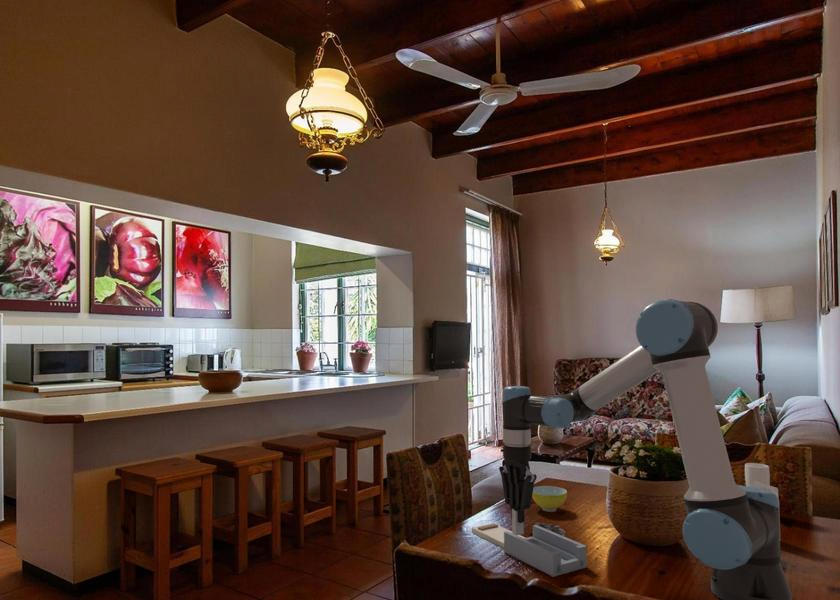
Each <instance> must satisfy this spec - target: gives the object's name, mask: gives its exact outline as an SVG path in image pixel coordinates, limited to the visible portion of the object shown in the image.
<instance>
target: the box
mask: <svg viewBox="0 0 840 600" xmlns="http://www.w3.org/2000/svg"><path fill="white" fill-rule="evenodd" d="M564 536H565V535H564ZM564 536H561V535H559V534H557V533H554V532H552V531H549V530H547V529H545V528H542V527H540V526H537V525H535V524H534V525H532V536H529V537H525V538H521V537H519V536H517V535H515V534H513V533H510V532H508V531H506V532H504V548H503V549H504V550H503V552H504V553H506V554H508V555H510V556H512V557H513V558H516V559H518V560H520V561H522V562H524V563H525V564H527V565H530V567H531V566H532V567H533V568H534V569H536V570H539V571H541V572H543V573H545V574H546V575H549V576H550V577H552V578H553V577H557V576H561V575H564V574H569V573H571V572H575V571H578V570H583V569H585V568H587V567H588V558H587V557H588V555H587V554H588V553H587V552H588V551H587V545H585V544H583V543H581V542H579V541H576V540H573V539H571V538H568V537H566V536H565V537H564Z"/></svg>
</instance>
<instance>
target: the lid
mask: <svg viewBox="0 0 840 600" xmlns="http://www.w3.org/2000/svg"><path fill="white" fill-rule="evenodd" d="M506 531H508V532H510V533H512V530H509V529H508V528H505V527H503V526H500V525H498V524H496V523H493V522H492V523H488V524H483V525H482V524H481V525H479V526H475V527H471V533H472V534H474V535H476V536H478V537H480V538H483V539H484V540H486V541H488V542H490V543H492V544H494V545H497V546H498V547H500V548H502V549H504V532H506ZM517 536H519V537H521V538H526V537H525V536H522V534H521V535H517Z"/></svg>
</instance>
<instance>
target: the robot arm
mask: <svg viewBox="0 0 840 600" xmlns="http://www.w3.org/2000/svg"><path fill="white" fill-rule="evenodd" d="M718 329H719V325H718V320H717V318H716V316H715V314H714V313H713V312H712V311H711V310H710V309H709V308H708V306H707V307H706V306H705V305H703V304H702V303H699V302H696V301H695V302H694V301H685V300H683V301H682V300H677V299H671V298H670V299H665V300H664V299H663V300H657V301H654V302H652V303H650V304H649V305H647V306H646V307H645V308H644V309H643V310H642V311H641V313H640V315H638V318H637V320H636V323H635V336H636V338H637V339H636V340H637V341H638V343H639V346H637V347H636V348H635V349H633V350H631V351H630V352H629V353H627V354H626V355H624V356H623V357H621V358H620V359H618V360H617V361H616V362H614V363H613V364H611V365H610V366H609V365H608V367H607V368H605V369H603V370H602V371H600V372H599V373H598V374H596V375H595V376H593V377H591V378H590V379H588V381H586V382H584V383H583V384H582V385H580V386H579V387H577V388H576V389H574V390H573V391H571V392H569V393H566V394H565V393H564V394H560V395H559V394H557V395H551V396H549V395H548V396H545V395H544V396H543V395H533V394H532V393H531V387H528V386H525V385H524V386H523V385H509V386H505V387H503V390H502V401H501V407H502V443H503V445H502V457H503V459H504V460H505V461H504V465H502V466H499V467H498V470H499V474H500V476H501V483H502V487H503V488H502V489H503V495H504V502H505V504H506V505H508V506H509V508H510V518H511V531H512V533H513V534H515V535H521V536H522V535H524V534H525V533H524V531H525V529H524V524H525V519H526V518H525V511H526V510H529V509H531V506H532V501H533V500H532V499H533V497H532V494H533V488H534V487H535V482H536V480H537V474H533V473H532V472H531V467H530V463H529V462H530V460H531V459H532V446H531V445H530V444H531V443H532V431H531V430H532V429H531V428H532V425H535V426H542V427H549V428H552V429H556V428H557V429H559V428H560V429H565V428H568V427H569V426H570V424H571V423H576V422H584V421H586V420H588V419H591V418H592V417H594V416H595V413H596V411H599V409H601V408H603V407H604V406H606V405H607V404H610V403H611V402H612V401H614V400H616V399H617V398H619V397H621V396H622V395H624V394H625V393H627V392H629V391H630V390H632V389H633V388H635V387H637V386H638V385H639V384H641V383H643V382H644V381H647V379H649V378H652V377H653V376H654V375H656V374H658V373H659V372H660V373H661V375H662V378H663V382H664V387H665V390H666V391H665V392H666V396H667V399H668V404H669V407H670V412H671V417H672V421H673V425H674V428H675V433H676V436H677V441H678V445H679V449H680V455H681V458H682V462H683V466H684V471H685V475H686V479H687V483H688V490H687V491H686V492H685V493H684V495H683V500H684V504H685V509H686V513H687V515H686V517H685V519H684V521H683V524H682V537H683V540H684V542H685V545H686V547H687V548H688V550H689V552H690V553H691V554H692V555H693V556H694V557H695V558H697V559H698V560H699V561H700V562H701V563H703V564H705V565H706V566H708V567H710V568H713V571H712V574H711V577H710V590H711V592H712V594H713V595H714V596H715V595H716V596H715V597H717V598H718V599H719V598H720V599H719V600H721V599H722V600H793V598H792V597H793V596H792V595H793V594H792V590H791V588H790V586H789V582H788V580H787V578H786V575H785V572H784V570H783V567H782V564H781V561H782V560H781V543H780V541H781V529H780V530H779V515H780V504H779V505H778V499H779V497H778V498H777V496H776V495H775V494H774V493H773V492H771V491H770V490H769V491H768V490H764V489H760V488H755V487H749V486H746V485H743V484H741V485H740V484H737V483H736V481H735V478H734V475H733V470H732V466H731V462H730V459H729V454H728V451H727V445H726V443H725V440H724V436H723V431H722V428H721V423H720V419H719V416H718V413H717V408H716V404H715V400H714V397H713V396H714V395H713V393H712V389H711V385H710V381H709V377H708V373H707V369H706V365H707V363H708V361H709V360H710V359H711V357H712V356H711V353H710V350H709V349H710V348H709V347H710V346H711V345H712V344H713V343H714V342H715V340H716V338H717V335H718V331H719V330H718Z"/></svg>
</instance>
